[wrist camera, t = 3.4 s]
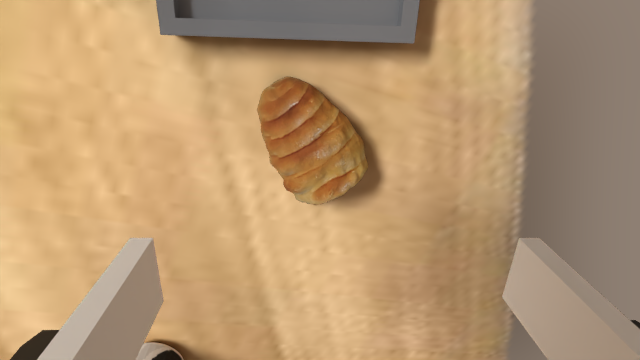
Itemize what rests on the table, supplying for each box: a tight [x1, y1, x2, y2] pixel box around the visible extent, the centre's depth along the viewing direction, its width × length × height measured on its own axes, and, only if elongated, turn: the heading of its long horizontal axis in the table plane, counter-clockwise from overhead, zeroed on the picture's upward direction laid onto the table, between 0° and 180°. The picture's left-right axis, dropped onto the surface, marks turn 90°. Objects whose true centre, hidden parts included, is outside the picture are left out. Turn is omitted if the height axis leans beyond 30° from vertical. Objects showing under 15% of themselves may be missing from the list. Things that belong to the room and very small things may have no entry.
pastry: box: [257, 77, 368, 205], centre depth 27 cm, size 9×7×4 cm
